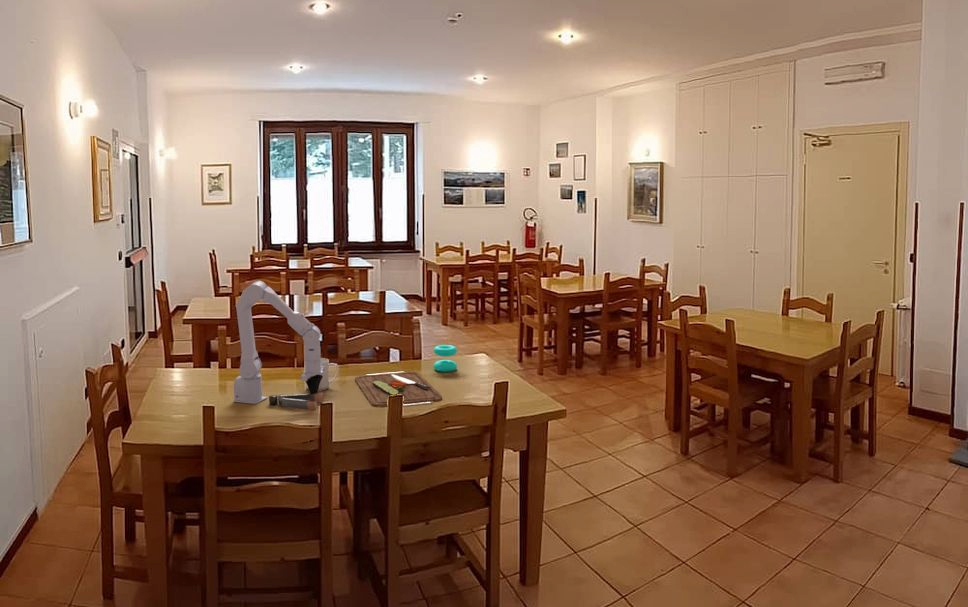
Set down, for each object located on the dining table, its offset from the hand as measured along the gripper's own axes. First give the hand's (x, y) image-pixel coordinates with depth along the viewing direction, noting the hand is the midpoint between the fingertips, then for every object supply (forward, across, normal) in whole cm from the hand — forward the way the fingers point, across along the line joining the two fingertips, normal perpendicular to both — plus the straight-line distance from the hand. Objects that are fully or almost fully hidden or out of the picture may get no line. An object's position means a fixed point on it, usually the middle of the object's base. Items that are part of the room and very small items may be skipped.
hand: (313, 394), depth 279 cm
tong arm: (+1, -6, +2) cm, 6 cm away
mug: (+2, +14, +4) cm, 15 cm away
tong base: (+2, -10, +3) cm, 10 cm away
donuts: (+2, +55, -33) cm, 64 cm away
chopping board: (+2, +22, -24) cm, 33 cm away
